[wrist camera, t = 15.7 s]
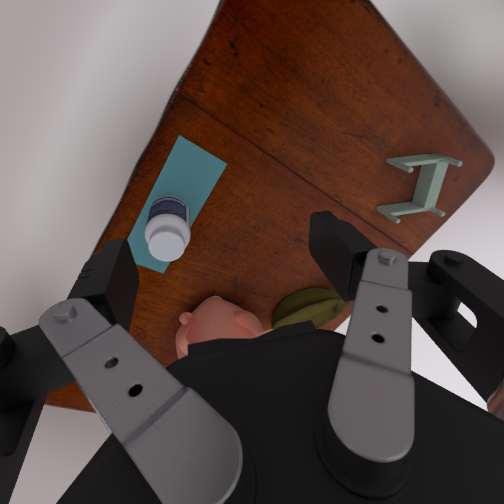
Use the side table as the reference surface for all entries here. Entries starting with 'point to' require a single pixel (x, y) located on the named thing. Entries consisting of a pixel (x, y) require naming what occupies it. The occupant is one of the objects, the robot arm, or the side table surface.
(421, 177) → the rack
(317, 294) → the fruit
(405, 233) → the side table surface
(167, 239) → the pill bottle
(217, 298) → the teapot
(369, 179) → the side table surface
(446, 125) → the side table surface
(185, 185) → the strip
